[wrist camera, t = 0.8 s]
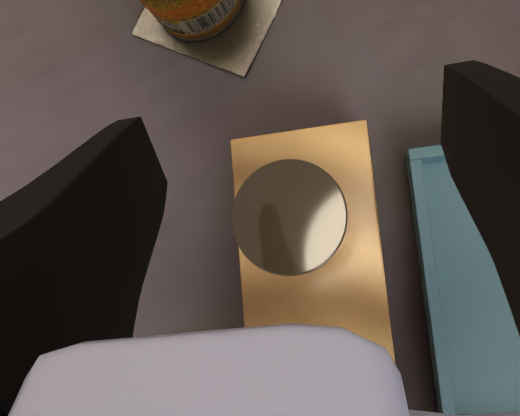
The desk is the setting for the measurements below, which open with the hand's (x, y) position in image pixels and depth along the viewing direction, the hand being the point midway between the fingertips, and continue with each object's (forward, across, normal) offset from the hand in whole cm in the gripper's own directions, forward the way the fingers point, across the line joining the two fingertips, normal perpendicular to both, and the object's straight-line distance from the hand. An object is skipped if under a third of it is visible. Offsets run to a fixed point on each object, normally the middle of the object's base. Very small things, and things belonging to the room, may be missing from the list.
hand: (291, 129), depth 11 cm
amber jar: (+7, +1, +10) cm, 12 cm away
